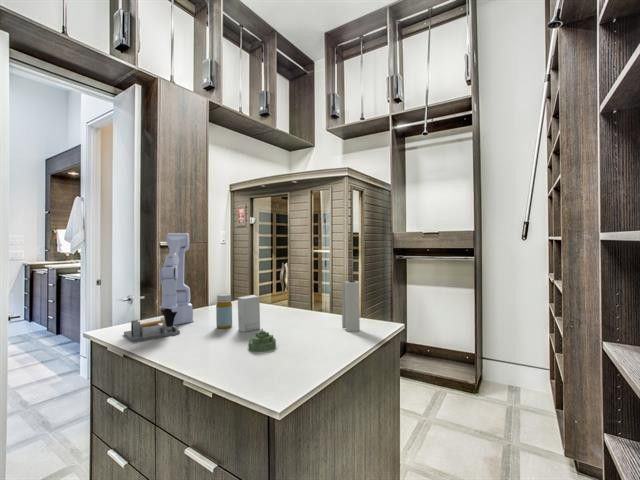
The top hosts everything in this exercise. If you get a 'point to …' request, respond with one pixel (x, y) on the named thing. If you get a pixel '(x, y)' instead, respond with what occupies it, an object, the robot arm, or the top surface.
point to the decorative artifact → (262, 342)
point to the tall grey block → (350, 306)
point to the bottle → (224, 311)
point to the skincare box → (248, 313)
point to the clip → (165, 325)
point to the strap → (151, 323)
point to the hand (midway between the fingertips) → (169, 326)
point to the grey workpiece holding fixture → (148, 332)
